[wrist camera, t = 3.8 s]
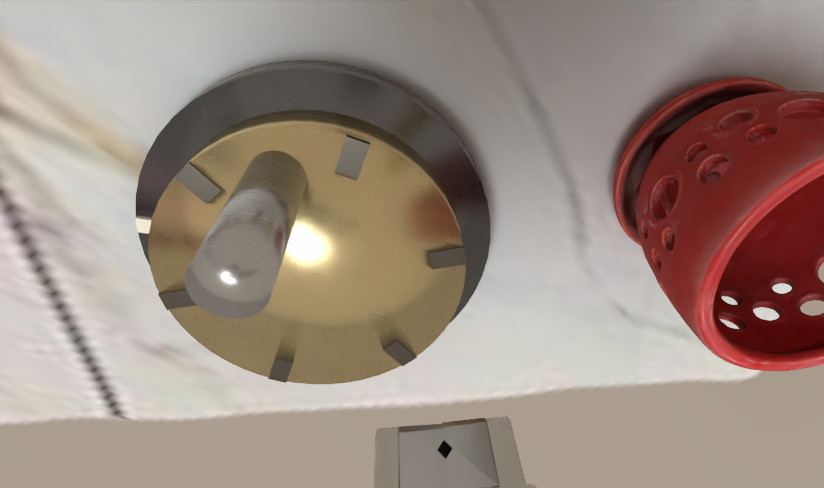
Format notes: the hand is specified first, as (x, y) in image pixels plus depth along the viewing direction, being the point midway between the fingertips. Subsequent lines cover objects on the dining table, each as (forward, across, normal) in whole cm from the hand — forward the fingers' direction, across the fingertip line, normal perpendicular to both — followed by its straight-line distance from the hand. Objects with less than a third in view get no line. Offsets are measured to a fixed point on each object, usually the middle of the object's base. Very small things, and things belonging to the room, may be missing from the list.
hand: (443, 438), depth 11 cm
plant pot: (+22, -18, +4) cm, 29 cm away
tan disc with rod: (+19, +7, +6) cm, 21 cm away
